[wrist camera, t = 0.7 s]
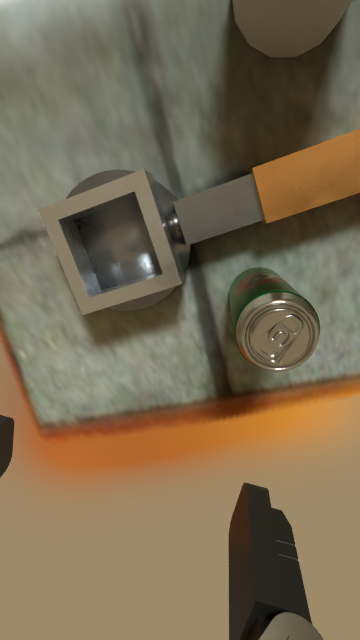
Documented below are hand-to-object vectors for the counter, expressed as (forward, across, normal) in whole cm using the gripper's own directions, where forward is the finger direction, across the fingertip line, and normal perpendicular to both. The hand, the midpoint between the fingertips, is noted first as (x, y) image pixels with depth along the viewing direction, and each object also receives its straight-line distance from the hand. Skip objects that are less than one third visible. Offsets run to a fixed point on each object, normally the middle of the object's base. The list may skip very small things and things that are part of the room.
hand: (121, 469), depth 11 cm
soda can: (+22, -6, -3) cm, 23 cm away
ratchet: (+22, 0, -9) cm, 23 cm away
